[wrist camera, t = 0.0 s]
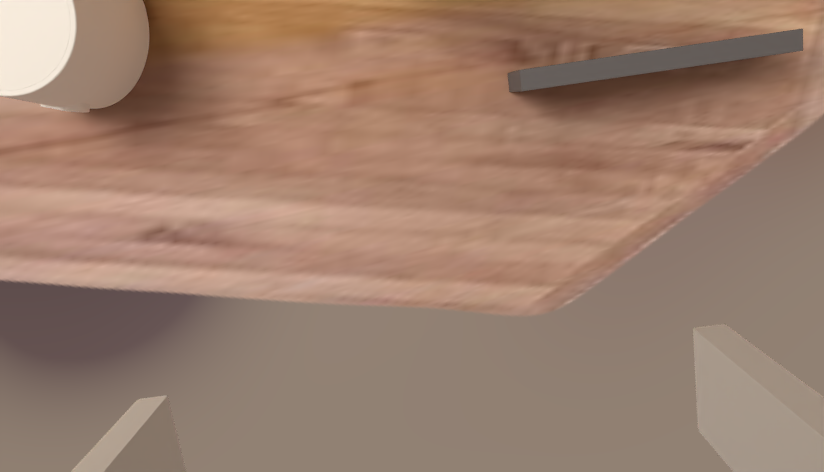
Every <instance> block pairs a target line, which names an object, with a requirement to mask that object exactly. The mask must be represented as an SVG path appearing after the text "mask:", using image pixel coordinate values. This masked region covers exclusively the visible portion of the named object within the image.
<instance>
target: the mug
mask: <svg viewBox="0 0 824 472" xmlns="http://www.w3.org/2000/svg"><path fill="white" fill-rule="evenodd" d="M148 49H149V23H148V17H147V12H146V8H145V5H144V2H143V0H0V96H2V97H7V98H12V99H17V100H22V101H28V102H33V103H38V104H40V106H42V107H46V108H53V109H57V110H62V111H70V112H90V109H99V108H105V107H108V106H111V105H113V104H115V103H117V102H119V101H120V100H121V99H123V98H124V97H125V96H126V95H127V94H128V93H129V92H130V91H131V90H132V89H133V88H134V86H135V85H136V83H137V82H138V80H139V78H140V76H141V74H142V72H143V69H144V66H145V63H146V60H147V55H148Z"/></svg>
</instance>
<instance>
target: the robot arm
mask: <svg viewBox="0 0 824 472" xmlns="http://www.w3.org/2000/svg"><path fill="white" fill-rule="evenodd" d="M693 340H694V360H695V381H696V402H697V422H698V431H699V432H700V433H701V434H702V435H703V437H704V438H705V439H706V440H707V441H708V443H709V444H710V445H711V446H712V447H713V449H714V450H715V451H716V452H717V453H718V454H719V456H720V457H721V458H722V459H723V460H724V462H725V463H726V464H727V465H728V466H729V468H730V469H731V470H732V471H733V472H824V397H823V396H822V395H820V394H819V393H818V392H816V391H815V390H814V389H812V388H811V387H809V386H808V385H807V384H805V383H804V382H803V381H801V380H800V379H799V378H797V377H796V376H795V375H793V374H792V373H791V372H789V371H788V370H786V369H785V368H784V367H782V366H781V365H780V364H778V363H777V362H776V361H774V360H773V359H771V358H770V357H769V356H768V355H766V354H765V353H763V352H762V351H761V350H759V349H758V348H757V347H755V346H754V345H752V344H751V343H750V342H749V341H747V340H746V339H745V338H743V337H742V336H740V335H739V334H738V333H736V332H735V331H734V330H732V329H731V328H729V327H728V326H727V325H726V324H719V325H711V326H704V327H696V328H693ZM71 472H186V469H185V465H184V460H183V456H182V452H181V448H180V444H179V440H178V436H177V432H176V428H175V423H174V419H173V415H172V411H171V407H170V403H169V399H168V396H159V397H151V398H145V399H144V398H143V399H138V400H137V401H136V402H135V403H134V404H133V405H132V406H131V407H130V408H129V410H128V411H127V412H126V413H125V414H124V415H123V416H122V417H121V418H120V419H119V420H118V422H116V424H115V425H114V426H113V427H112V428H111V429H110V430H109V431H108V432H107V433H106V434H105V435H104V436H103V438H102V439H101V440H100V441H99V442H98V443H97V444H96V445H95V446H94V447H93V448H92V450H91V451H90V452H89V453H88V454H87V455H86V456H85V457H84V458H83V459H82V460H81V461H80V462H79V463H78V465H77V466H76V467H75V468H74V469H73V470H72V471H71Z"/></svg>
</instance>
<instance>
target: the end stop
mask: <svg viewBox="0 0 824 472" xmlns="http://www.w3.org/2000/svg"><path fill="white" fill-rule="evenodd" d="M796 51H803V29H797V30H790V31H783V32H776V33H769V34H763V35H756V36H749V37H742V38H735V39H728V40H722V41H715V42H708V43H701V44H694V45H688V46H681V47H674V48H667V49H660V50H653V51H647V52H640V53H633V54H626V55H619V56H612V57H606V58H599V59H592V60H585V61H578V62H571V63H565V64H558V65H551V66H544V67H537V68H530V69H524V70H518V71H514V72H511V73H508V82H509V91H510V92H519V91H528V90H535V89H541V88H548V87H555V86H562V85H569V84H576V83H583V82H590V81H597V80H603V79H610V78H617V77H624V76H631V75H638V74H645V73H652V72H659V71H665V70H672V69H679V68H686V67H693V66H700V65H707V64H714V63H721V62H728V61H734V60H741V59H748V58H755V57H762V56H769V55H776V54H783V53H790V52H796Z"/></svg>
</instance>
